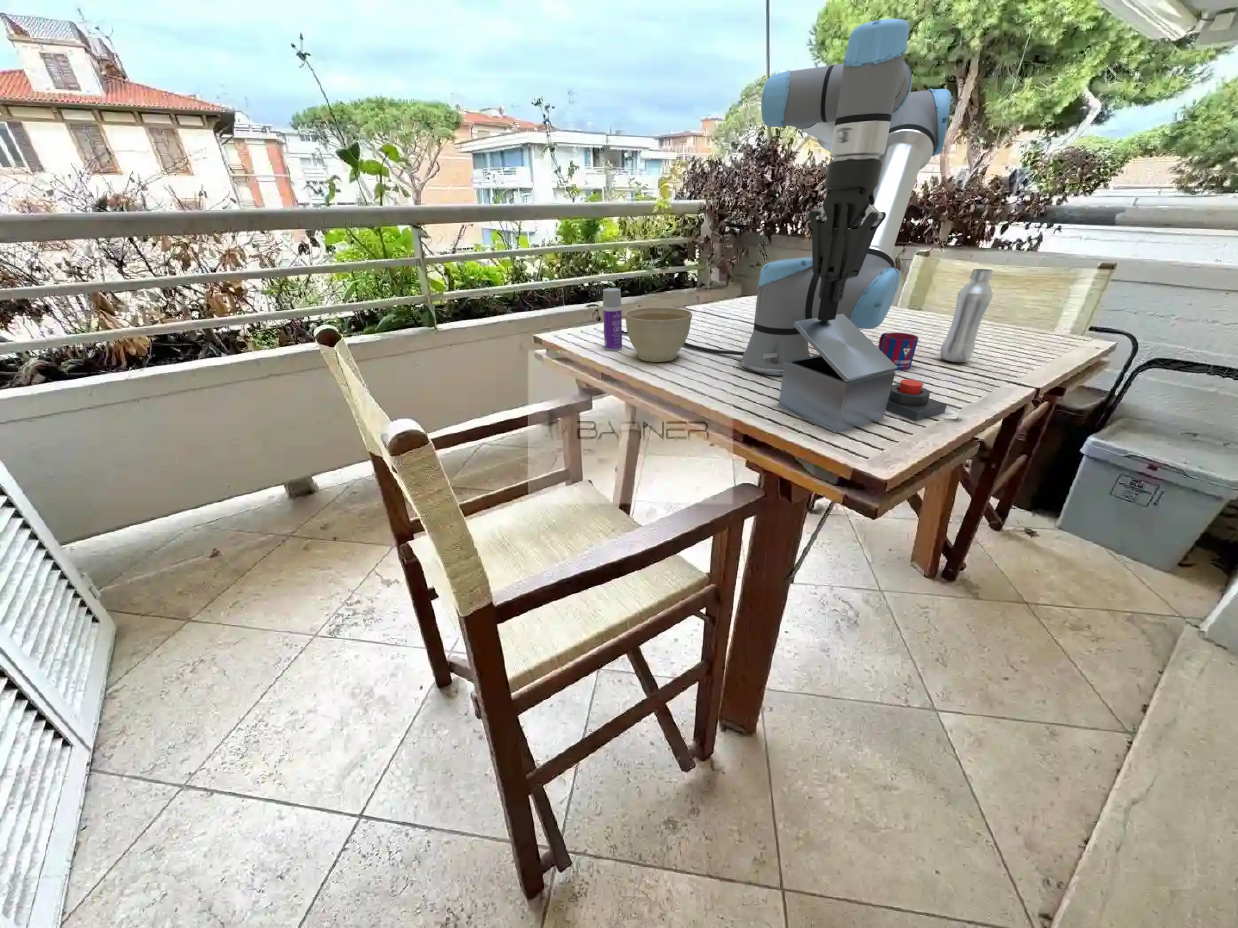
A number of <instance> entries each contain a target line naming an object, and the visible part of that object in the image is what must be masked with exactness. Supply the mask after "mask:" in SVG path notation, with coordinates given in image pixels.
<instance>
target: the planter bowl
mask: <svg viewBox="0 0 1238 928" xmlns="http://www.w3.org/2000/svg"><path fill="white" fill-rule="evenodd" d="M624 319H625V328H626V331H627V333H628V334H627V337H628V339H629V341H630V344H631V346H632V347H633V348H634V350H635V351H636V352H637V356H638V359H640V360H642V361H646V362H652V363H661V362H662V363H663V362H670V361H674V360H676V358H677V356H678V353H679V351H680V350H681V349H682V348H683V346H684V345H683V344H684V343H685V342H686V341H687V339H688V336H689V333H690V331H691V325H692V324H691V323H692V319H693V312H692V311H690V310H688V309H685V308H679V307H669V306H668V307H667V306H666V307H665V306H651V307H649V306H647V307H639V308H635V309H630V310H627V311H625V312H624Z"/></svg>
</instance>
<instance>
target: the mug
mask: <svg viewBox="0 0 1238 928" xmlns="http://www.w3.org/2000/svg"><path fill="white" fill-rule="evenodd" d="M918 343H919V336H918V335H916V334H911V333H907V332H884V333H883V332H882V334H881V335H880V337H879V339H878V348H879V349H880V350H881V351H882V352H883V353H884V354H885V355H886V356H887V357H888V358H889V359H890V360H891V361H892V362H893V363H894V364H895V365H896V366H897V367H898V368H897V369H896V370H895V371H905V370H910V369H911V367H912V364H913V359H914V357H915V353H916V348H917V346H918Z"/></svg>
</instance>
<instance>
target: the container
mask: <svg viewBox="0 0 1238 928" xmlns="http://www.w3.org/2000/svg"><path fill="white" fill-rule="evenodd" d="M602 313H603V314H602V315H603V339H604V340H603V341H604V342H603V343H604V350H605V351H608V352H617V351H621V350H622V349H623V334H622V331H623V324H622V321H623V320H622V316H623V315H622V293H621V288H618V287H609V288H608V287H607V288H603V289H602Z"/></svg>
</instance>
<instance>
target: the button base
mask: <svg viewBox="0 0 1238 928" xmlns="http://www.w3.org/2000/svg"><path fill="white" fill-rule="evenodd" d="M899 385H900V383H896V384H892V387H891V391H890V395H889V399H888V402H887V406H886V410H885V411H888V412H891V413H894V414H896V415H898V416H901V417H904V418H906V419H908V420H911V421H913V422H917V421H921V420H925V419H928V418H931V417H934V416H938V415H940V414H944V413H946V409H947V406H948V404H947V403H945V402H942V401H939V400H935V399H933V398H930V395H931V390H929V389H928V388H926V387H922V390H921V393H920V394H908V393H903V392H900V391H898V389H899Z"/></svg>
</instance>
